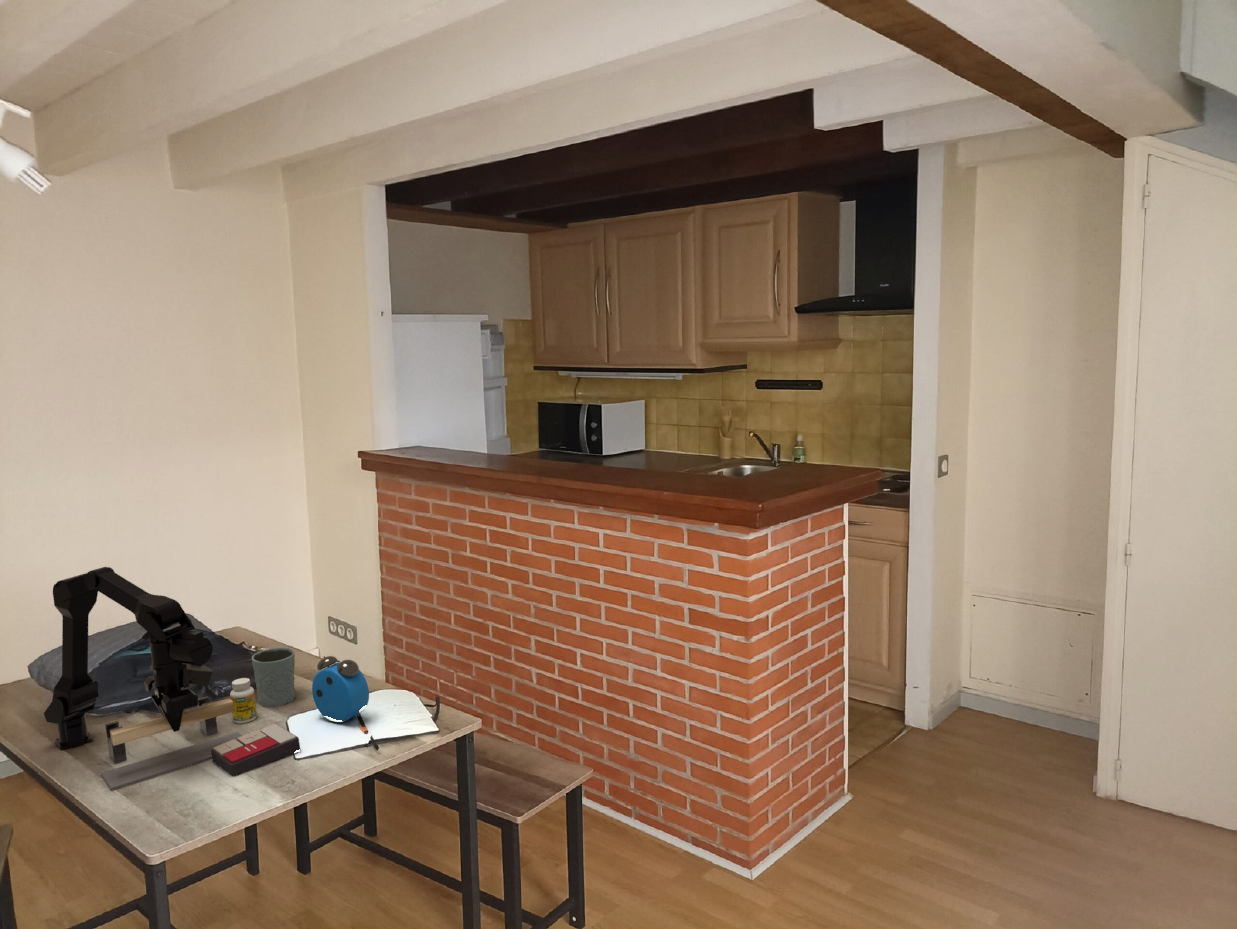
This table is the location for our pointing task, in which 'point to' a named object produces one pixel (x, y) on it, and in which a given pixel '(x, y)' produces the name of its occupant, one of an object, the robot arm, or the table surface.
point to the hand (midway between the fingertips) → (174, 729)
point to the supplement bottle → (243, 701)
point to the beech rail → (163, 725)
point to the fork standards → (119, 751)
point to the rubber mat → (163, 763)
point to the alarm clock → (339, 688)
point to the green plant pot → (274, 676)
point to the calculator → (255, 749)
